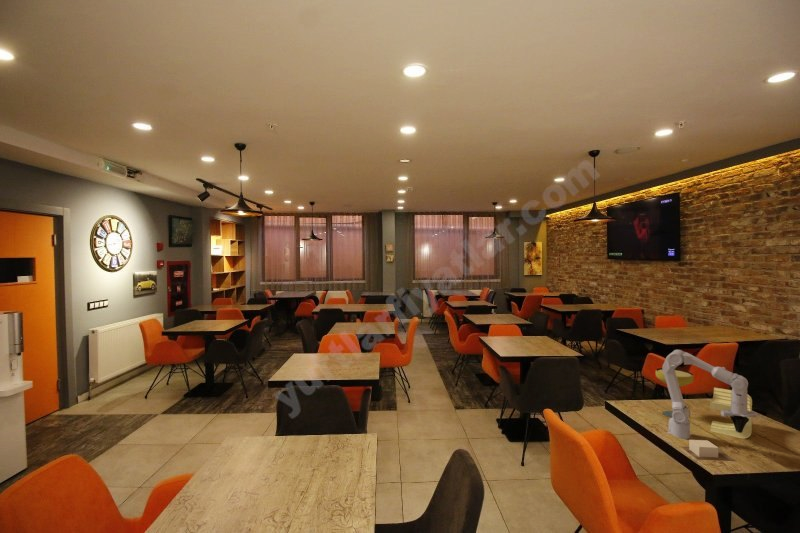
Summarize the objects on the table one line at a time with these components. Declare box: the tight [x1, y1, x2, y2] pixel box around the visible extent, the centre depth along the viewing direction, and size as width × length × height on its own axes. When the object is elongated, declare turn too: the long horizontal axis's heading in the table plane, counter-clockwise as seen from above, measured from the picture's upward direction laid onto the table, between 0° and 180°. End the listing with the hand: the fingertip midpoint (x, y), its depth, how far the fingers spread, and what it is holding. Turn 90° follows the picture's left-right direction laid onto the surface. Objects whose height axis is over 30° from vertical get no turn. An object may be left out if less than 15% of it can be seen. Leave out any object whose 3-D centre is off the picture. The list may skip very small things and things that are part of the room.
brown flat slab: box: [681, 446, 736, 462], centre depth 179 cm, size 12×16×2 cm
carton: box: [688, 439, 719, 458], centre depth 179 cm, size 7×4×8 cm
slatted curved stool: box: [709, 387, 753, 439], centre depth 205 cm, size 30×16×18 cm, turn 138°
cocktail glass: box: [655, 367, 695, 418], centre depth 226 cm, size 18×18×25 cm
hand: (738, 431), depth 181 cm, fingers closed
